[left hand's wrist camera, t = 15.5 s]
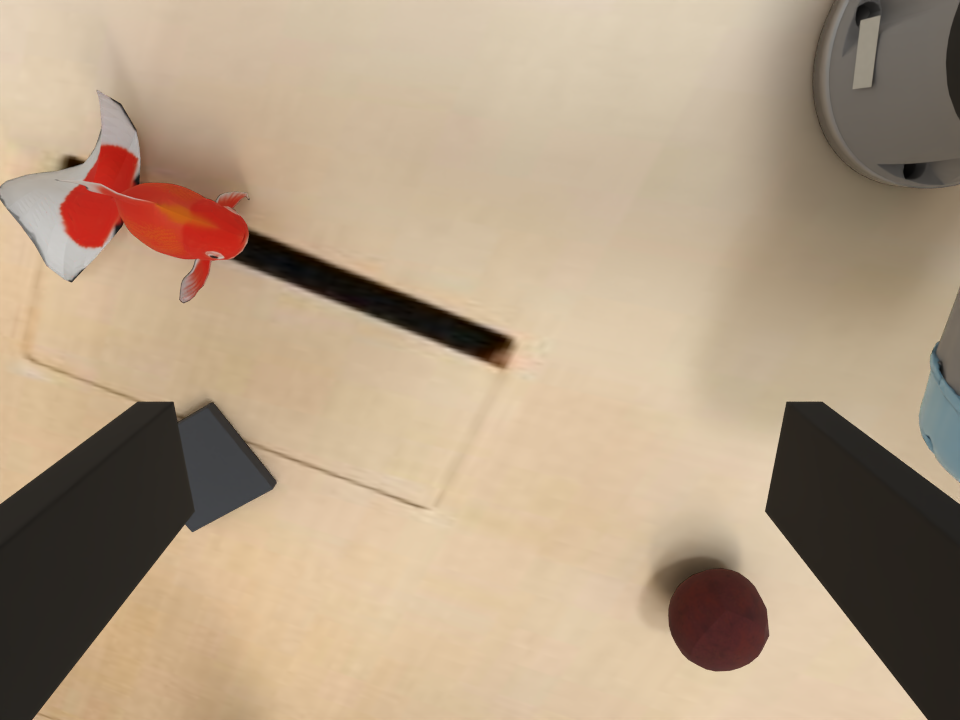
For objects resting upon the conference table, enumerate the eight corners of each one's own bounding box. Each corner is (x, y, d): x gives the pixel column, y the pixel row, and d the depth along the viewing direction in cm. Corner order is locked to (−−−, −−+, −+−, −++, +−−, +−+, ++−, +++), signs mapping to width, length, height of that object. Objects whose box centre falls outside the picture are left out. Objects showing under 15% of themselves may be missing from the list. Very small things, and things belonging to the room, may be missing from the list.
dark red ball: (640, 604, 50) (665, 674, 43) (691, 536, 48) (725, 599, 41) (713, 634, 51) (747, 706, 44) (765, 568, 49) (810, 635, 42)
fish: (214, 372, 38) (83, 339, 28) (63, 252, 42) (-96, 188, 32) (310, 236, 38) (213, 157, 29) (152, 130, 42) (21, 30, 33)
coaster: (212, 401, 44) (207, 407, 43) (277, 482, 46) (273, 489, 45) (130, 449, 45) (123, 455, 44) (197, 525, 47) (191, 532, 46)
